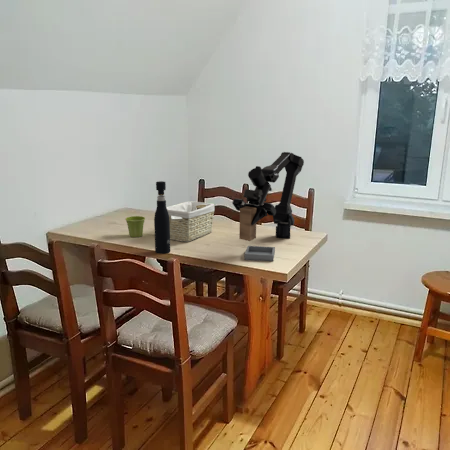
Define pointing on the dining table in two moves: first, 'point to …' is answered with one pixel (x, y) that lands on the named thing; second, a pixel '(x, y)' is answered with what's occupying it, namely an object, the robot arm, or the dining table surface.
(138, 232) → the plant pot
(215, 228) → the dining table surface
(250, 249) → the tray
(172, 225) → the storage basket
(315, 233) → the dining table surface
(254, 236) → the walnut block
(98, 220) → the dining table surface
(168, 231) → the black bottle
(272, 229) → the dining table surface
